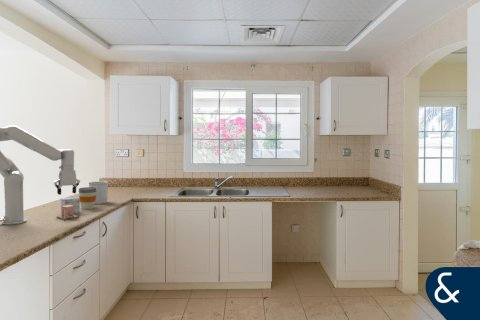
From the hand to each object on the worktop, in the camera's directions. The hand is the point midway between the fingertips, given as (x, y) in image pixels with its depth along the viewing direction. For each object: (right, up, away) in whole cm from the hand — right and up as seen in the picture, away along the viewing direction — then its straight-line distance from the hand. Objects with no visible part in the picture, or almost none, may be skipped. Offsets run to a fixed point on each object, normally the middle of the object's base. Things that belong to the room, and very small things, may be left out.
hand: (66, 193), depth 220 cm
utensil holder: (-4, -14, +58) cm, 59 cm away
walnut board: (0, -16, +1) cm, 16 cm away
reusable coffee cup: (-3, -15, +36) cm, 39 cm away
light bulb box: (-6, -16, +17) cm, 23 cm away
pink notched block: (0, -15, +1) cm, 15 cm away
